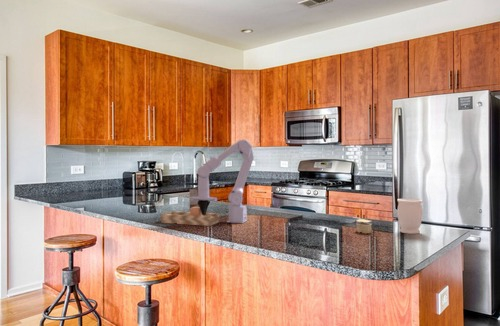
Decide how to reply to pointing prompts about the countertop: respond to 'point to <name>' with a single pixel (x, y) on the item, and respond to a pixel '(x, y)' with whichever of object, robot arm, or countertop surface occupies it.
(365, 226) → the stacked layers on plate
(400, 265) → the countertop surface
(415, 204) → the jar
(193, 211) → the terracotta block
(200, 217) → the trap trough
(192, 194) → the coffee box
